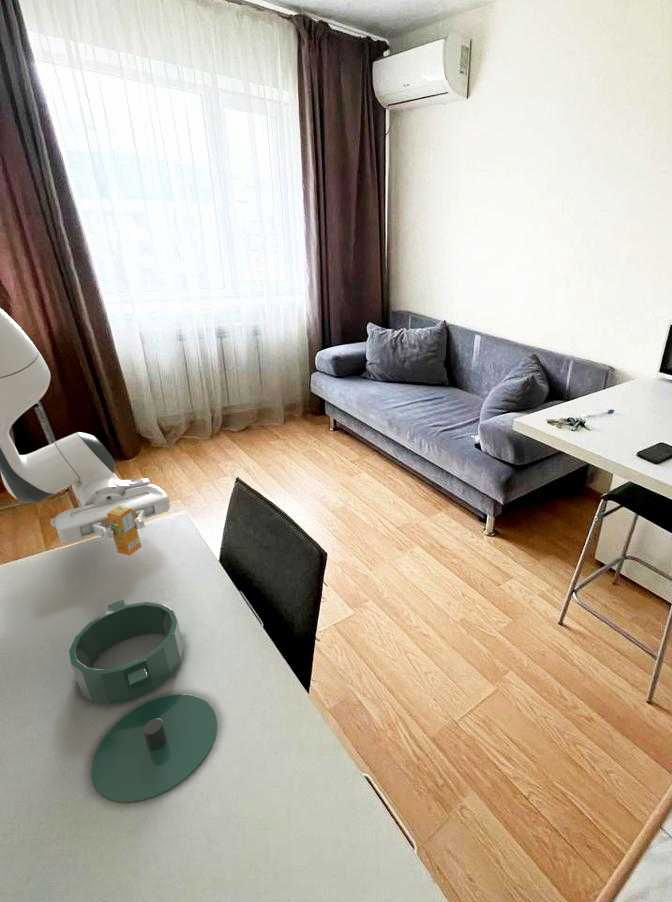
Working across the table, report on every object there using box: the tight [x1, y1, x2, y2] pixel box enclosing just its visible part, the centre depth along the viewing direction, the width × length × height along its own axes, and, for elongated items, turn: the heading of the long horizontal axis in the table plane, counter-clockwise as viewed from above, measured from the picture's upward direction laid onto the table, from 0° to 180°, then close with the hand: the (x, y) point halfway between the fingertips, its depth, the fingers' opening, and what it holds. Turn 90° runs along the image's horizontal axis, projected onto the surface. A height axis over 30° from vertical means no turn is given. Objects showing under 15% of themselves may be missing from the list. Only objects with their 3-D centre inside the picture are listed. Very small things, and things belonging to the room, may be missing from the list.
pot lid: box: [90, 693, 218, 803], centre depth 70 cm, size 16×16×5 cm
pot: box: [68, 599, 185, 705], centre depth 81 cm, size 15×20×8 cm
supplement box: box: [107, 505, 142, 556], centre depth 100 cm, size 3×3×10 cm
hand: (125, 530), depth 100 cm, fingers closed on supplement box, 4 cm apart
